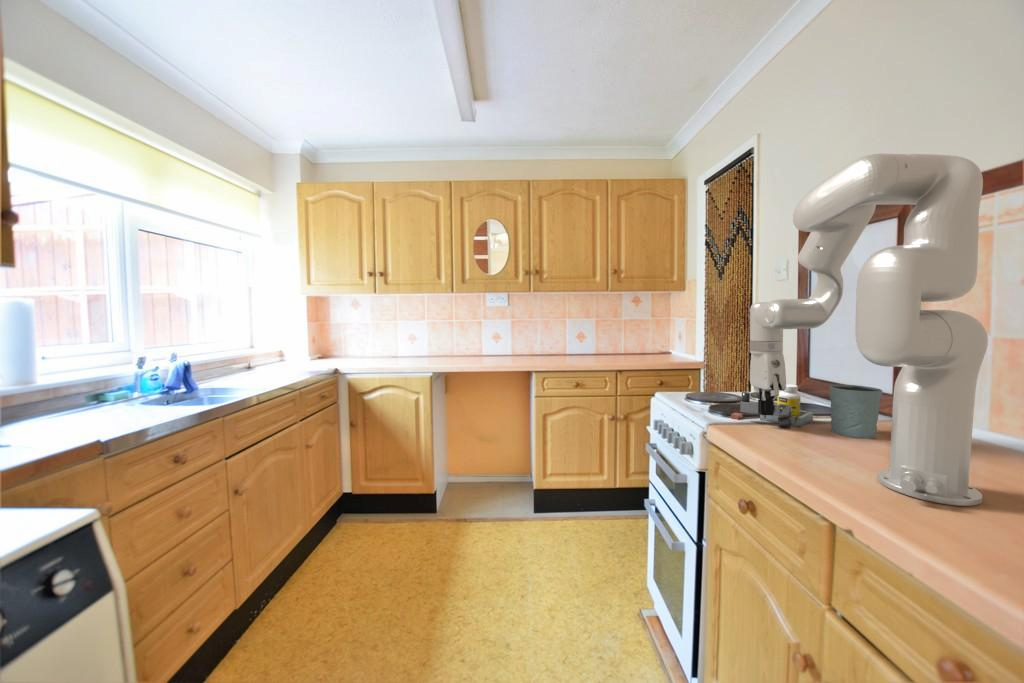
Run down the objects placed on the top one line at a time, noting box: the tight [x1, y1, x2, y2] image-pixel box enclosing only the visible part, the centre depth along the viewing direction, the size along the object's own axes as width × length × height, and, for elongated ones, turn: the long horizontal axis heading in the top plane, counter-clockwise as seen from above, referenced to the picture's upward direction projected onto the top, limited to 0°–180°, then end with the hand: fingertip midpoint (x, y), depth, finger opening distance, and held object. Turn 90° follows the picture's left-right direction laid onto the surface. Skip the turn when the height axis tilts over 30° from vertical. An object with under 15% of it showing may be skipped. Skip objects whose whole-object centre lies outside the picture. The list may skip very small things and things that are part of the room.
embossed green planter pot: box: [829, 384, 883, 440], centre depth 99 cm, size 10×10×12 cm
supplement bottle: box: [776, 383, 801, 421], centre depth 111 cm, size 5×5×10 cm
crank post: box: [730, 412, 792, 430], centre depth 110 cm, size 3×15×3 cm, turn 37°
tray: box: [759, 409, 814, 428], centre depth 112 cm, size 10×10×2 cm
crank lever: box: [739, 391, 792, 418], centre depth 108 cm, size 12×3×6 cm, turn 51°
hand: (765, 414), depth 106 cm, fingers closed
